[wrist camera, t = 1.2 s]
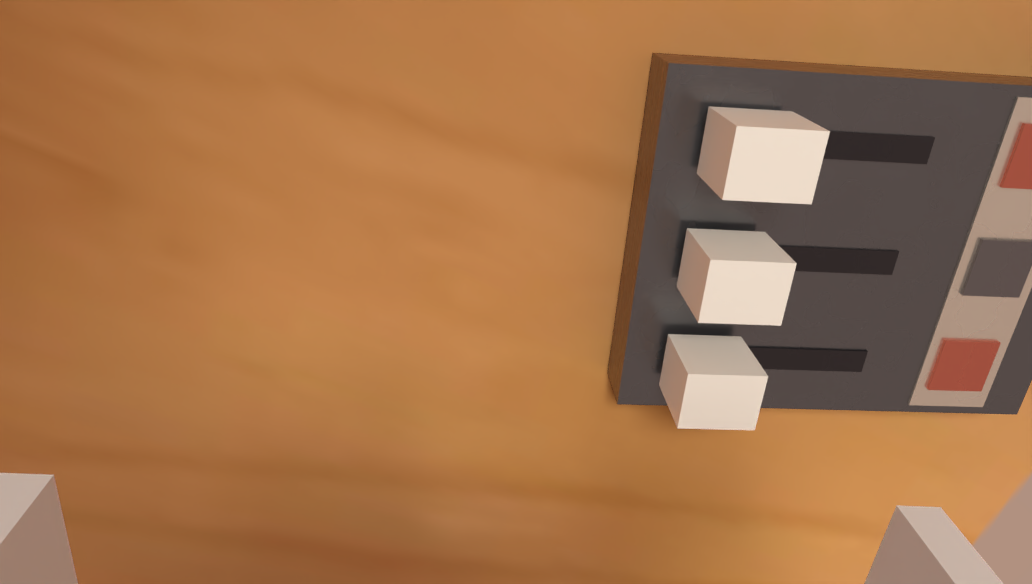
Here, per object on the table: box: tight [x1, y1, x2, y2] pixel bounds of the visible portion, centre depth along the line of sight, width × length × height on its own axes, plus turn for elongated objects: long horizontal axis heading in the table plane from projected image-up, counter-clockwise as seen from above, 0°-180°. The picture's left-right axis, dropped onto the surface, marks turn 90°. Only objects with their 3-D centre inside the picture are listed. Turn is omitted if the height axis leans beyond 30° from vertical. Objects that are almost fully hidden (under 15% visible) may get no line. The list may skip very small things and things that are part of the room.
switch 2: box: [677, 228, 797, 326], centre depth 27 cm, size 2×3×3 cm
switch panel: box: [608, 53, 1032, 414], centre depth 30 cm, size 14×18×3 cm
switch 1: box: [697, 106, 830, 204], centre depth 25 cm, size 2×3×3 cm
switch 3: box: [659, 334, 768, 430], centre depth 29 cm, size 2×3×3 cm
